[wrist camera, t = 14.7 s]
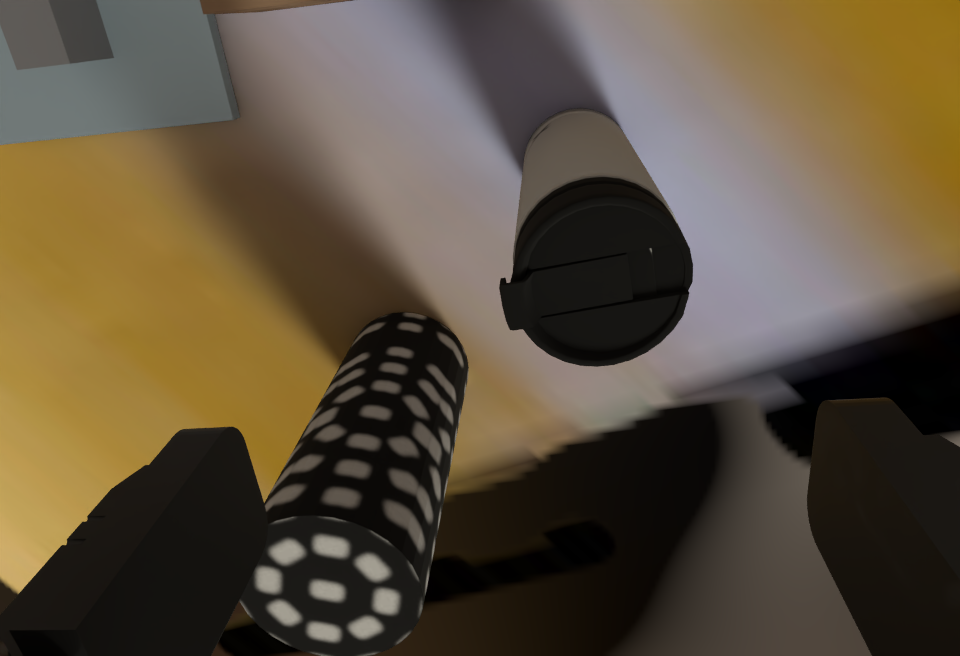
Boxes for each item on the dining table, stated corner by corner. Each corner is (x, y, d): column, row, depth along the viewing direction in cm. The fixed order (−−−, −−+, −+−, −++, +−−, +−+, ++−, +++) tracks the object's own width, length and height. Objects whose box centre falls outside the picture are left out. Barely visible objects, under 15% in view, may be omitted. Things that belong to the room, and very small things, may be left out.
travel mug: (509, 120, 40) (481, 220, 22) (623, 97, 39) (694, 182, 21) (528, 223, 42) (517, 389, 24) (636, 204, 41) (708, 362, 23)
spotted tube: (345, 406, 49) (232, 639, 31) (354, 302, 46) (232, 499, 28) (459, 426, 49) (411, 672, 31) (477, 324, 45) (434, 535, 28)
